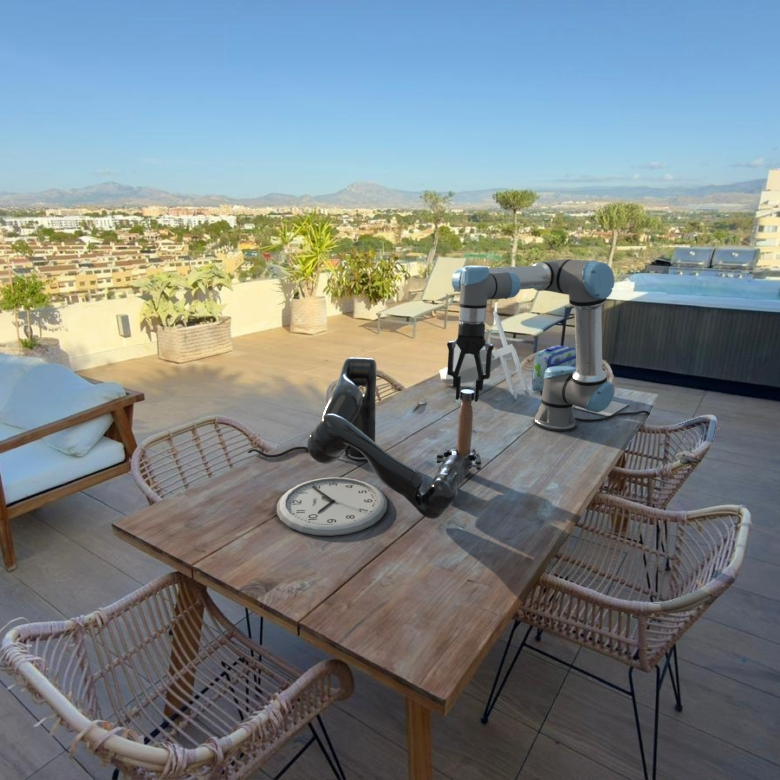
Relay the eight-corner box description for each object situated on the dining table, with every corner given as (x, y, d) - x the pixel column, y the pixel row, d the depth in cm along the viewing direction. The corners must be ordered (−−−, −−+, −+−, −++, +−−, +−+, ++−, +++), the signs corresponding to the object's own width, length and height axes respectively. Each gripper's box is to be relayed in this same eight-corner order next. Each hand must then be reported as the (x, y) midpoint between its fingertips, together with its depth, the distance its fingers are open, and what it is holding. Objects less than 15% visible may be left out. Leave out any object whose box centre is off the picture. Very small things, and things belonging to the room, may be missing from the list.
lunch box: (548, 398, 236) (553, 353, 229) (527, 393, 243) (531, 349, 237) (575, 387, 253) (581, 344, 247) (555, 382, 260) (560, 341, 254)
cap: (476, 401, 154) (476, 393, 154) (462, 401, 153) (463, 393, 153) (471, 396, 158) (471, 389, 157) (458, 397, 157) (458, 389, 157)
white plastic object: (461, 429, 252) (437, 405, 227) (444, 352, 274) (420, 323, 250) (535, 404, 240) (518, 377, 215) (510, 326, 262) (492, 293, 237)
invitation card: (608, 416, 214) (573, 407, 224) (608, 416, 214) (573, 408, 224) (628, 404, 229) (594, 396, 238) (628, 405, 229) (594, 397, 238)
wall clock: (392, 527, 129) (268, 531, 127) (391, 533, 130) (269, 537, 127) (383, 473, 158) (282, 475, 155) (383, 478, 158) (282, 480, 156)
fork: (410, 411, 216) (410, 407, 215) (421, 400, 230) (421, 396, 229) (416, 412, 215) (416, 408, 214) (427, 401, 229) (427, 396, 228)
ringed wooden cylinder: (471, 474, 162) (477, 394, 155) (461, 477, 160) (466, 396, 153) (463, 469, 166) (468, 390, 158) (453, 471, 164) (457, 392, 156)
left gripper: (427, 480, 152) (443, 457, 167) (476, 488, 147) (487, 464, 162) (428, 456, 149) (444, 435, 165) (478, 464, 145) (489, 442, 160)
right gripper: (505, 321, 150) (498, 398, 157) (443, 317, 155) (440, 392, 162) (502, 326, 143) (496, 406, 150) (438, 321, 148) (434, 399, 155)
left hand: (465, 449), depth 163 cm, fingers closed on ringed wooden cylinder, 4 cm apart
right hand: (467, 399), depth 156 cm, fingers open, 5 cm apart
